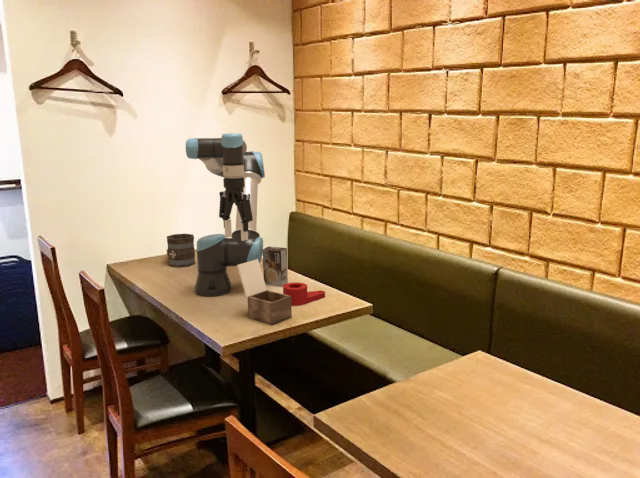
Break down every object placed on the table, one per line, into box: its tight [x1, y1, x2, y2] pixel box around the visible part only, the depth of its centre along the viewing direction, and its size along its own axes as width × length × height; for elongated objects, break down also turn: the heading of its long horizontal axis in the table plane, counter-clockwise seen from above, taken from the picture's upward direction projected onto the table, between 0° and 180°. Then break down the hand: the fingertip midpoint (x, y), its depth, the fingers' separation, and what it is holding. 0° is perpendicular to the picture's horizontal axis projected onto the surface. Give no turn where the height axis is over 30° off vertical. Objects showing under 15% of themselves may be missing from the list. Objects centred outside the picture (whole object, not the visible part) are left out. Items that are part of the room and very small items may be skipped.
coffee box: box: [262, 246, 289, 288], centre depth 243 cm, size 9×6×16 cm
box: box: [247, 289, 293, 326], centre depth 204 cm, size 12×10×8 cm
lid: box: [236, 259, 268, 298], centre depth 207 cm, size 12×10×1 cm
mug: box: [166, 233, 196, 269], centre depth 276 cm, size 20×14×15 cm
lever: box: [282, 282, 326, 307], centre depth 223 cm, size 18×9×7 cm, turn 121°
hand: (236, 238), depth 209 cm, fingers open, 8 cm apart
